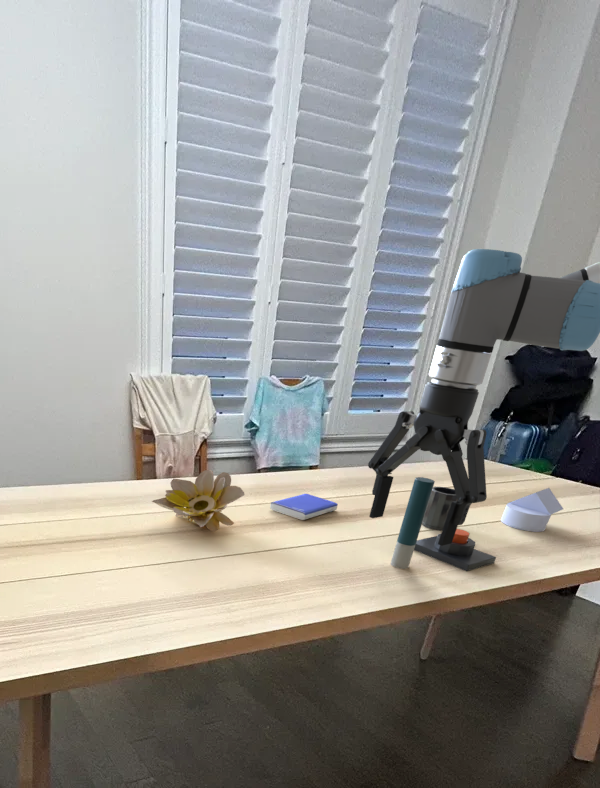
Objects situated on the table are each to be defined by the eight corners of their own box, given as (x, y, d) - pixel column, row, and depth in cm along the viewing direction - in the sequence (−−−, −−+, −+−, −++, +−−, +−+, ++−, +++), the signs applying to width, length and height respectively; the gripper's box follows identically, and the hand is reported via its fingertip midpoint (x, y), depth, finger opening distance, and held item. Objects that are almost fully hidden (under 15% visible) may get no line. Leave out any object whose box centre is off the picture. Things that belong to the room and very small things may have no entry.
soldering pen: (411, 567, 106) (438, 481, 98) (401, 570, 104) (427, 483, 96) (397, 561, 108) (422, 476, 100) (386, 564, 106) (411, 477, 98)
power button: (470, 543, 112) (473, 533, 111) (459, 546, 110) (462, 536, 109) (452, 536, 114) (455, 527, 113) (441, 539, 112) (444, 529, 111)
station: (494, 563, 112) (500, 547, 110) (466, 571, 107) (472, 554, 105) (436, 541, 119) (441, 525, 118) (408, 548, 114) (413, 531, 113)
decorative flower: (136, 504, 113) (152, 447, 108) (178, 511, 121) (195, 457, 117) (193, 536, 105) (212, 476, 101) (234, 541, 114) (254, 485, 109)
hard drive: (305, 512, 121) (338, 503, 129) (270, 501, 125) (304, 492, 133) (303, 520, 122) (336, 510, 130) (269, 509, 126) (303, 500, 134)
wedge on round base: (516, 512, 143) (494, 521, 135) (528, 482, 140) (506, 489, 131) (557, 524, 139) (536, 534, 130) (570, 493, 135) (550, 501, 127)
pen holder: (455, 528, 128) (467, 493, 124) (439, 532, 124) (451, 496, 120) (431, 520, 131) (442, 485, 127) (415, 523, 128) (425, 488, 124)
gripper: (369, 368, 96) (336, 508, 108) (521, 401, 81) (463, 560, 93) (398, 369, 100) (363, 504, 112) (548, 401, 85) (489, 553, 97)
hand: (408, 530), depth 103 cm, fingers open, 13 cm apart
